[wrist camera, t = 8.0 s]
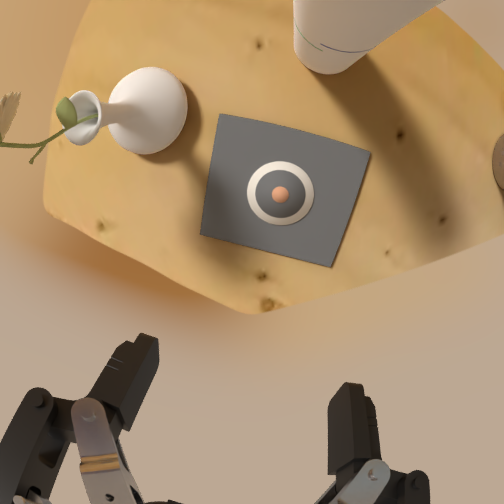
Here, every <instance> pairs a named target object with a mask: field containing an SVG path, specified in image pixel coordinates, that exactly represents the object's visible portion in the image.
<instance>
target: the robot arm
mask: <svg viewBox="0 0 504 504" xmlns="http://www.w3.org/2000/svg"><path fill="white" fill-rule="evenodd" d="M493 171H494V176H495V179H496V181H497V183H498V185H499V186H500V187H501V188H502V189H503V190H504V134H503V135H502V136H501V137H500V138H499V140H498V141H497V143H496V146H495V149H494V153H493ZM158 365H159V344H158V338H155V337H152V336H149V335H146V334H144V333H140V334H139V336H138V337H137V338H136V340H135V342H134V343H132V342H129V341H125V342H124V343H122V344H121V345H120V346H118V347H117V348H116V350H115V351H114V353H113V355H112V356H111V359H109V361H108V363H107V365H106V366H105V368H104V369H103V371H102V373H101V374H100V376H99V378H98V379H97V381H96V383H95V384H94V386H93V388H92V389H91V391H90V392H89V394H88V395H87V396H86V397H84V398H81V399H79V400H75V401H72V400H66V399H61V398H56V397H52V395H51V394H50V393H49V392H48V391H47V390H46V389H44V388H39V387H37V388H33V389H31V390H29V391H28V392H27V394H26V395H25V397H24V399H23V401H22V402H21V404H20V406H19V408H18V410H17V411H16V413H15V415H14V417H13V419H12V421H11V423H10V425H9V426H8V429H7V430H6V432H5V435H4V436H3V439H2V441H1V443H0V504H52V503H51V502H50V501H49V497H50V493H51V491H52V488H53V485H54V483H55V480H56V477H57V475H58V472H59V469H60V467H61V464H62V462H63V459H64V457H65V454H66V452H67V449H68V447H69V445H70V442H73V443H77V446H78V450H79V454H80V457H81V463H80V472H81V476H82V479H83V482H84V485H85V488H86V492H87V494H88V497H89V500H90V503H91V504H181V503H178V502H175V501H172V500H168V502H160V501H158V502H148V503H145V502H144V500H143V498H142V495H141V493H140V491H139V489H138V486H137V484H136V482H135V480H134V478H133V476H132V474H131V472H130V469H129V467H128V464H127V461H126V458H125V455H124V453H123V450H122V447H121V444H120V440H119V435H120V432H121V430H122V429H124V430H126V431H130V429H131V427H132V424H133V422H134V420H135V417H136V415H137V413H138V411H139V409H140V406H141V404H142V402H143V399H144V397H145V395H146V393H147V391H148V389H149V387H150V385H151V382H152V380H153V378H154V376H155V374H156V371H157V369H158ZM328 475H336V481H334V483H332V485H331V486H330V487H329V488H328V489H327V491H325V493H324V494H323V495H322V496H321V497H320V498H319V499H318V500H317V501H316V502H315V503H314V504H430V487H429V479H428V476H427V475H426V474H425V473H424V472H423V471H419V470H416V471H412V472H411V473H409V474H406V473H402V472H398V471H394V470H391V469H389V467H388V465H387V464H386V463H385V462H384V461H382V458H381V453H380V443H379V434H378V427H377V419H376V410H375V406H374V404H373V402H372V400H371V398H370V397H366V396H365V395H364V388H363V385H362V384H356V383H348V382H345V383H344V384H343V385H342V386H341V388H340V389H339V390H338V391H337V393H336V394H335V395H334V397H333V398H332V399H331V401H330V403H329V406H328Z"/></svg>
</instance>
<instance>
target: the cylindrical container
mask: <svg viewBox="0 0 504 504" xmlns="http://www.w3.org/2000/svg"><path fill="white" fill-rule="evenodd" d="M443 1H444V0H293V3H294V49H295V53H296V55H297V57H298V59H299V60H300V61H301V62H302V64H304V65H305V66H306V67H307V68H309V69H311V70H312V71H315V72H317V73H321V74H336V73H340V72H342V71H344V70H346V69H347V68H348V67H350V66H351V65H352V64H354V63H355V62H356V61H357V60H359V59H360V58H361V57H363V56H364V55H365V54H367V53H368V52H369V51H371V50H372V49H373V48H375V47H376V46H377V45H379V44H380V43H381V42H383V41H384V40H385V39H387V38H388V37H390V36H391V35H393V34H394V33H395V32H397V31H398V30H400V29H401V28H403V27H404V26H406V25H407V24H409V23H410V22H411V21H413V20H414V19H416V18H418V17H419V16H421V15H422V14H424V13H425V12H427V11H428V10H430V9H432V8H433V7H435V6H436V5H438V4H440V3H441V2H443Z"/></svg>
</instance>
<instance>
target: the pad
mask: <svg viewBox="0 0 504 504" xmlns="http://www.w3.org/2000/svg"><path fill="white" fill-rule="evenodd" d="M369 156H370V152H369V151H366V150H363V149H360V148H358V147H355V146H352V145H348V144H345V143H342V142H339V141H336V140H333V139H329V138H326V137H322V136H319V135H315V134H312V133H308V132H304V131H301V130H297V129H293V128H289V127H285V126H281V125H276V124H272V123H267V122H263V121H258V120H253V119H248V118H243V117H237V116H232V115H226V114H219V119H218V124H217V130H216V135H215V140H214V146H213V152H212V158H211V164H210V170H209V176H208V182H207V189H206V195H205V202H204V209H203V216H202V223H201V231H200V235H204V236H208V237H212V238H216V239H220V240H224V241H228V242H232V243H236V244H240V245H244V246H248V247H252V248H256V249H260V250H264V251H268V252H272V253H276V254H280V255H284V256H288V257H292V258H296V259H300V260H304V261H308V262H312V263H316V264H320V265H324V266H328V267H331V265H332V262H333V260H334V257H335V255H336V252H337V249H338V247H339V244H340V241H341V239H342V236H343V233H344V231H345V228H346V225H347V222H348V220H349V217H350V214H351V211H352V208H353V205H354V203H355V200H356V197H357V194H358V191H359V188H360V185H361V181H362V178H363V175H364V172H365V169H366V166H367V162H368V159H369Z"/></svg>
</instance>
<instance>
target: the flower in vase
mask: <svg viewBox="0 0 504 504" xmlns="http://www.w3.org/2000/svg"><path fill="white" fill-rule="evenodd" d="M20 97H21V92H20V93H18V94H17V92H16V93H15V94H14V93H13V92H9V93H8V95H4V96H3V98H2V99H1V101H0V147H12V148H35V147H40V146H41V148H40V149H39V150H38V151H37V153H36V154H35V155H34V157H33V158H32V159H31V160H30V161H29V163H30V164H33V161H34V159H35V157H36V156H37V155H38V154H39V153H40V152H41V151H42V150H43V148H44V147H45V145H46V144H47V143H48V142H50V141H52V140H53V139H55V138H56V137H58V136H59V135H61V134H63V133H65V135H66V137H67V139H68V140H69V141H70V142H72V143H73V144H75V145H85V144H87V143H89V142H90V141H91V140H92V139H94V137H95V136H96V135H97V133H98V131H99V129H100V128H102V127H104V126H106V125H108V127H109V130H110V133H111V134H112V136H113V138H114V139H115V141H116V142H117V143H118V144H119V145H120V146H122V147H123V148H124V149H126V150H128V151H131V152H133V153H137V154H152V153H156V152H159V151H161V150H163V149H165V148H166V147H168V146H169V145H170V144H171V143H172V142H173V141H174V140H175V139H176V138H177V137H178V135H179V134H180V132H181V130H182V128H183V126H184V123H185V120H186V117H187V110H188V103H187V96H186V93H185V90H184V87H183V85H182V84H181V82H180V81H179V80H178V78H177V77H176V76H175V75H173V74H172V73H171V72H169V71H167V70H165V69H162V68H159V67H145V68H141V69H138V70H136V71H134V72H132V73H130V74H128V75H127V76H125V77H124V78H123V79H122V80H121V81H120V82H119V83H118V84H117V85H116V87H115V88H114V90H113V92H112V94H111V96H110V98H109V102H108V103H104V102H100V101H99V99H98V98H97V96H96V95H95V94H93V93H92V92H90V91H87V90H82V91H79V92H77V93H75V94H74V95H72V96H71V97H70V99H68V98H67V97H64V98H63V99H62V100H61V101H60V102H59V103H58V105H57V107H56V114H57V116H58V118H59V120H60V122H61V123H62V126H63V129H62V130H61V131H59V132H58V133H56V134H55V135H53V136H52V137H50V138H48V139H47V140H45V141H42V142H40V143H36V144H17V143H4V142H2V141H3V139H4V137H5V134H6V133H7V131H8V130H9V128H10V125H11V122H12V120H13V119H14V117H15V115H16V111H17V108H18V105H19V100H20Z"/></svg>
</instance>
